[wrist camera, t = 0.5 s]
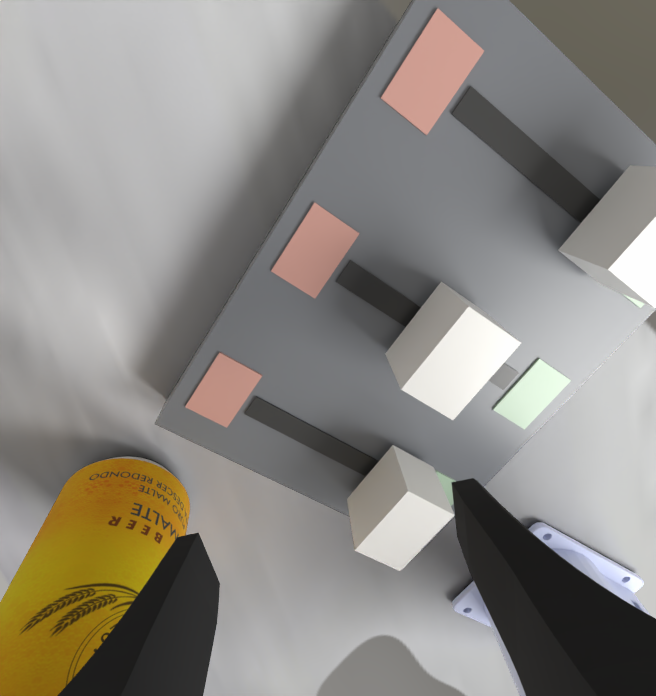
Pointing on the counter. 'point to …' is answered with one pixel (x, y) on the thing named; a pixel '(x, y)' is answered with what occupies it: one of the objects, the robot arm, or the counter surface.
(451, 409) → the block
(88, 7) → the counter surface
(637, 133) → the breaker board
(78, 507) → the yellow and white cylinder
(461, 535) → the robot arm
